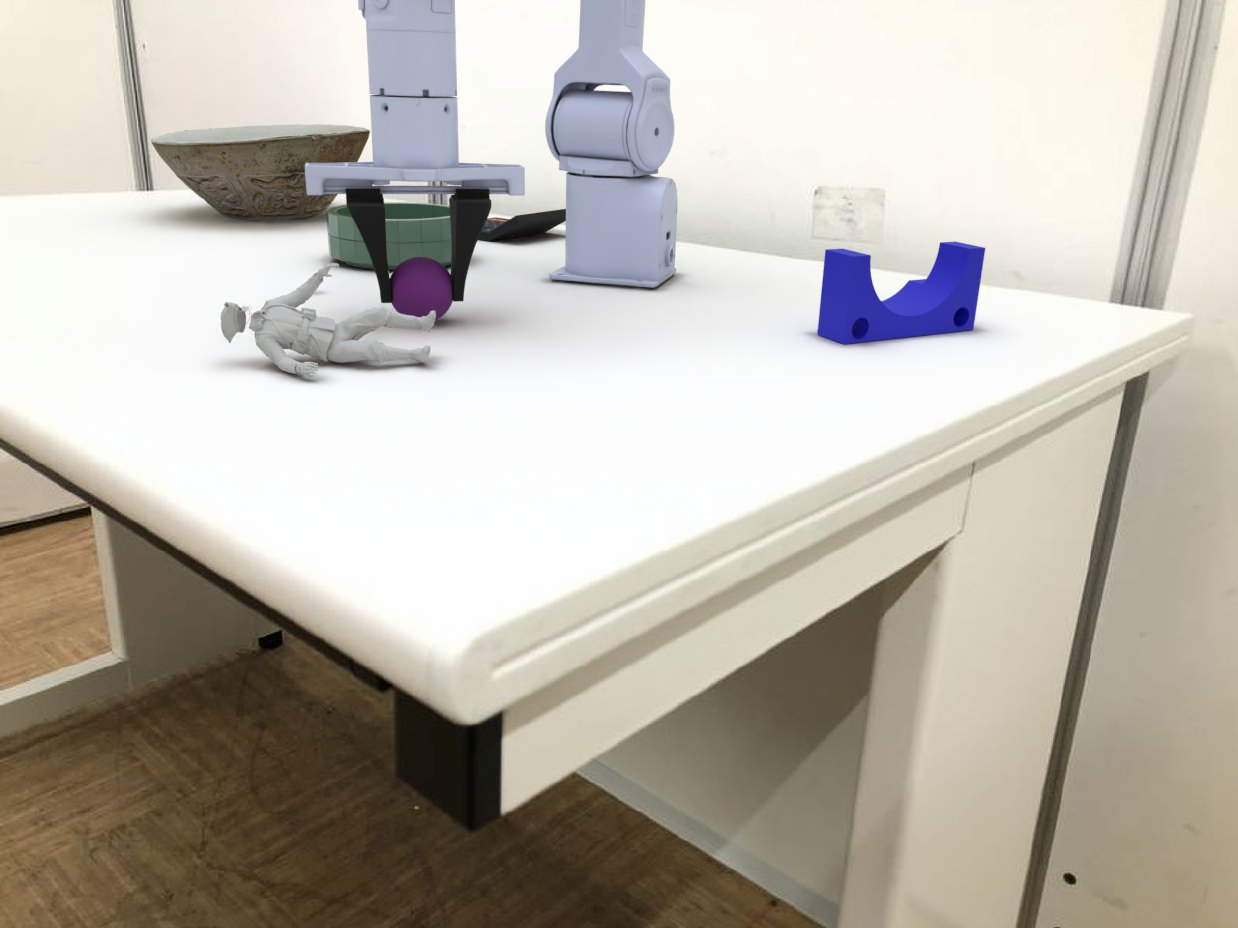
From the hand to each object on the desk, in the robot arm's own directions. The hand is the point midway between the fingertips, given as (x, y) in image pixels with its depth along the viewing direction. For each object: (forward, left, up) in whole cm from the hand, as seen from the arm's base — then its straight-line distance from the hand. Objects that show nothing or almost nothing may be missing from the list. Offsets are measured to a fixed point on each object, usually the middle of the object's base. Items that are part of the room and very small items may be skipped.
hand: (421, 299), depth 75 cm
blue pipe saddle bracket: (-32, -11, -2) cm, 34 cm away
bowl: (+40, -42, -2) cm, 58 cm away
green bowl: (+13, -22, -2) cm, 26 cm away
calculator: (+10, -41, -2) cm, 42 cm away
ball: (0, 0, +1) cm, 1 cm away
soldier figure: (0, +12, -2) cm, 12 cm away
